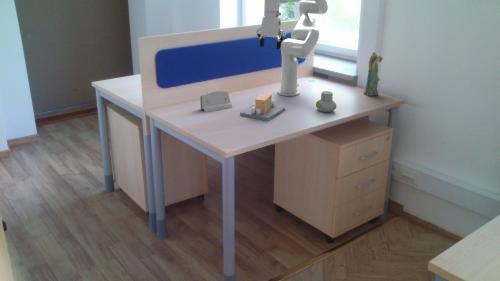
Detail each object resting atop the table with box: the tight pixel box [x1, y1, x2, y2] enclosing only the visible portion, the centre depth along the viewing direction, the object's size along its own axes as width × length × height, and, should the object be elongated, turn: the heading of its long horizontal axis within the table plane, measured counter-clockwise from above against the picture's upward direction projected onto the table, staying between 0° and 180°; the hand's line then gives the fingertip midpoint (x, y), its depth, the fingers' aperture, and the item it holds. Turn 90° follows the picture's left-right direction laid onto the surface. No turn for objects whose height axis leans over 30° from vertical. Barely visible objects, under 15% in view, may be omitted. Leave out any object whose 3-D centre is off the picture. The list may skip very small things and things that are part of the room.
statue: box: [363, 51, 383, 97], centre depth 278 cm, size 7×8×25 cm
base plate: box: [239, 99, 286, 122], centre depth 248 cm, size 20×16×4 cm
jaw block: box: [254, 92, 273, 114], centre depth 247 cm, size 12×5×7 cm, turn 162°
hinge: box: [199, 90, 233, 113], centre depth 253 cm, size 17×5×10 cm, turn 121°
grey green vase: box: [315, 90, 337, 113], centre depth 252 cm, size 11×8×10 cm
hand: (270, 47), depth 253 cm, fingers open, 9 cm apart
